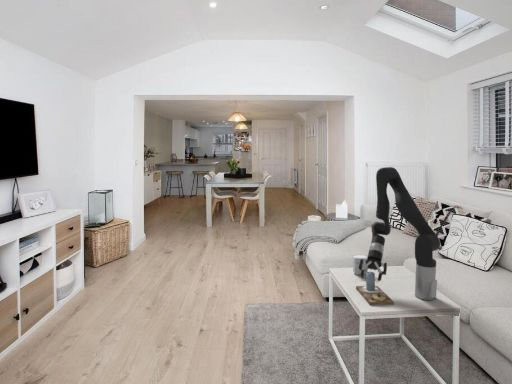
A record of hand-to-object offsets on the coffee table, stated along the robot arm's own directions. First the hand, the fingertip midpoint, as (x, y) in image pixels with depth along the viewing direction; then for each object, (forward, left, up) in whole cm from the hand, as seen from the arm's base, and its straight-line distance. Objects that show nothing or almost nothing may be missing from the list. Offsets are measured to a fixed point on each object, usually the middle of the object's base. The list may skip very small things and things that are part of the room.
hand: (370, 279), depth 176 cm
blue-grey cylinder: (+1, -1, -6) cm, 6 cm away
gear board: (-3, +1, -8) cm, 9 cm away
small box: (+22, -23, -8) cm, 33 cm away
